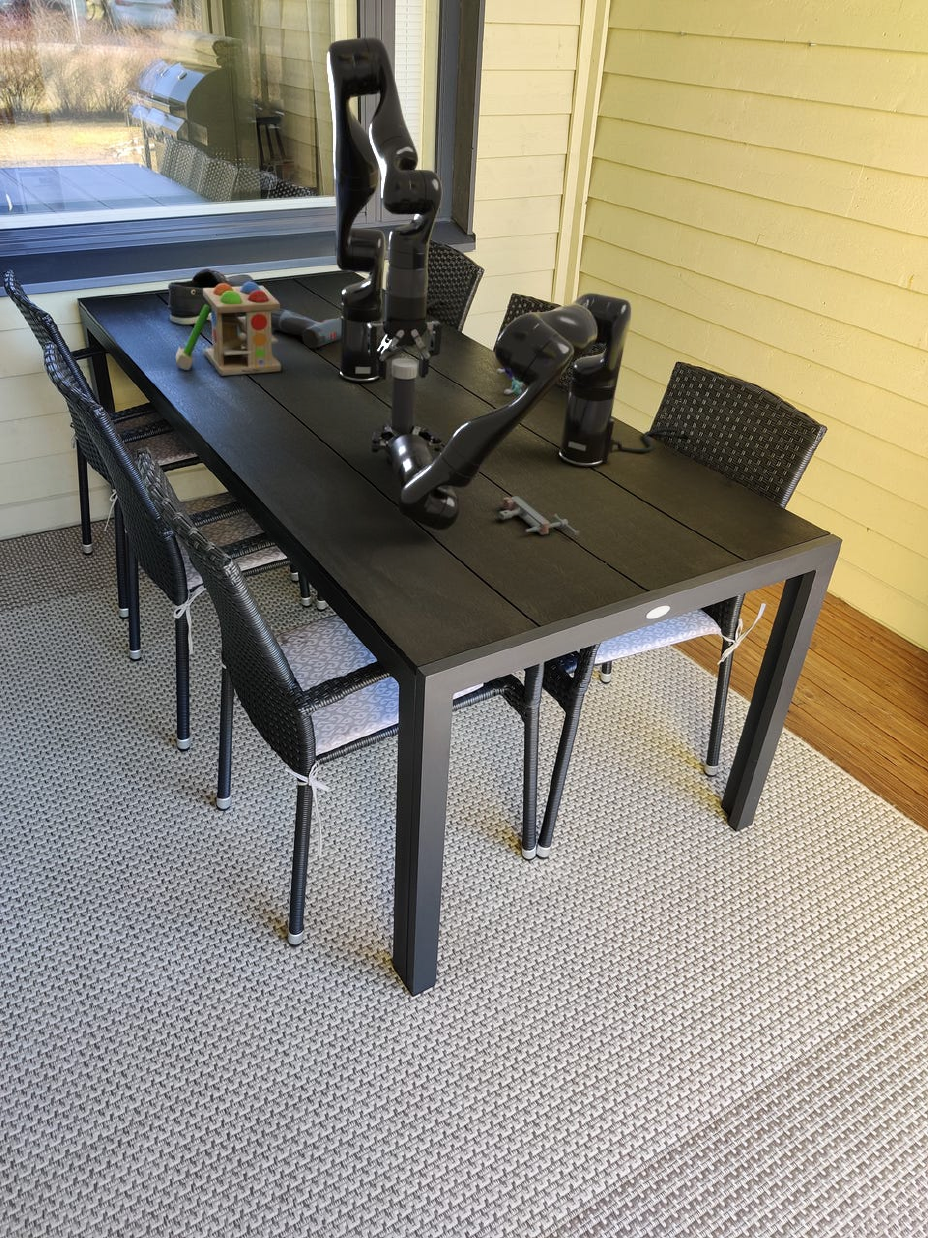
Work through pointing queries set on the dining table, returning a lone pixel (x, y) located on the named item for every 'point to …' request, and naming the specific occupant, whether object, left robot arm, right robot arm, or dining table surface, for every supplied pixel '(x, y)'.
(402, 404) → the bottle
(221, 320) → the pounding bench toy
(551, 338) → the right robot arm
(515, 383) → the molecular model
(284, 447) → the dining table surface
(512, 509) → the clamp
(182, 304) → the boat shoe
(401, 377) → the lid
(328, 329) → the power drill
